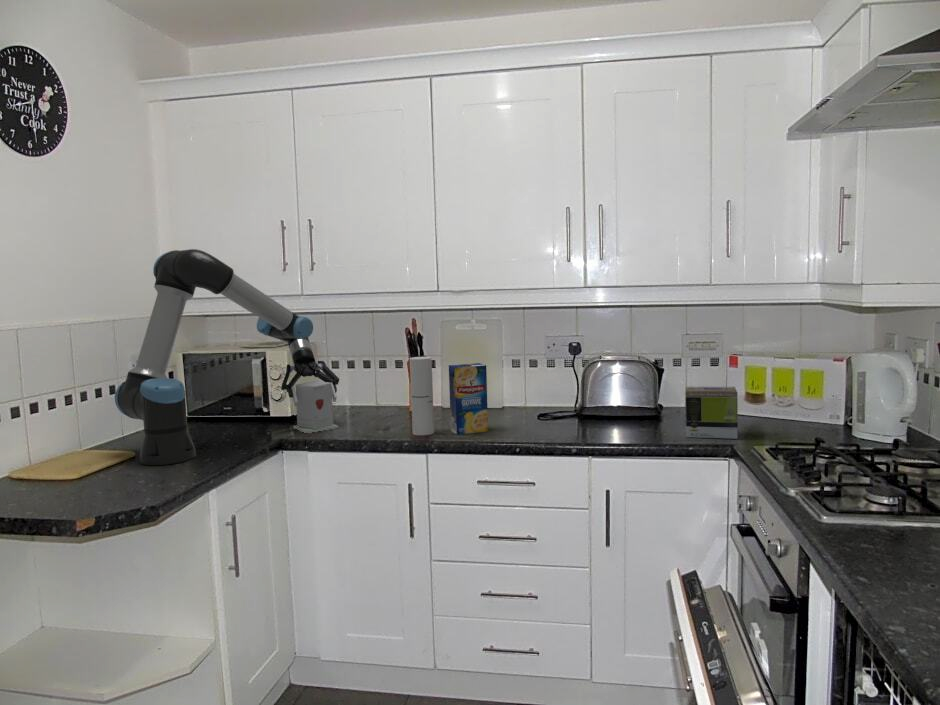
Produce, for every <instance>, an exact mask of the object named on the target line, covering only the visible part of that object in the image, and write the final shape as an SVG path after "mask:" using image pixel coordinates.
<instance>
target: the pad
mask: <svg viewBox="0 0 940 705" xmlns="http://www.w3.org/2000/svg"><path fill="white" fill-rule="evenodd" d="M293 428H294V429H293ZM335 428H339V425H338V424H335V423H333V425H329V426H325V427H321V428H317V429H311V428H304V427H297V424H296V425H293V426H292V429H293V430H295V429H297V430H299V431H298V432H300V431H301V432H300V433H302V432H304V433H303V434H305V433H309V434H313V433H312V432H315V433H319V432H318V431H321V432H324V431H323V430H327V431H330V430H329V429H333V430H336V429H335ZM297 430H296V431H297Z"/></svg>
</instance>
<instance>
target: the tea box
mask: <svg viewBox="0 0 940 705" xmlns="http://www.w3.org/2000/svg"><path fill="white" fill-rule="evenodd" d="M684 399H685V402H684V403H685V437H686V438H697V439H698V438H701V439H702V438H703V439H728V440H729V439H730V440H731V439H734V440H736V439H738V434H739V433H738V428H739V423H738V416H739V414H738V411H739V409H738V408H739V406H738V403H739V402H738V391H737V389H736V386H685V398H684Z"/></svg>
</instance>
